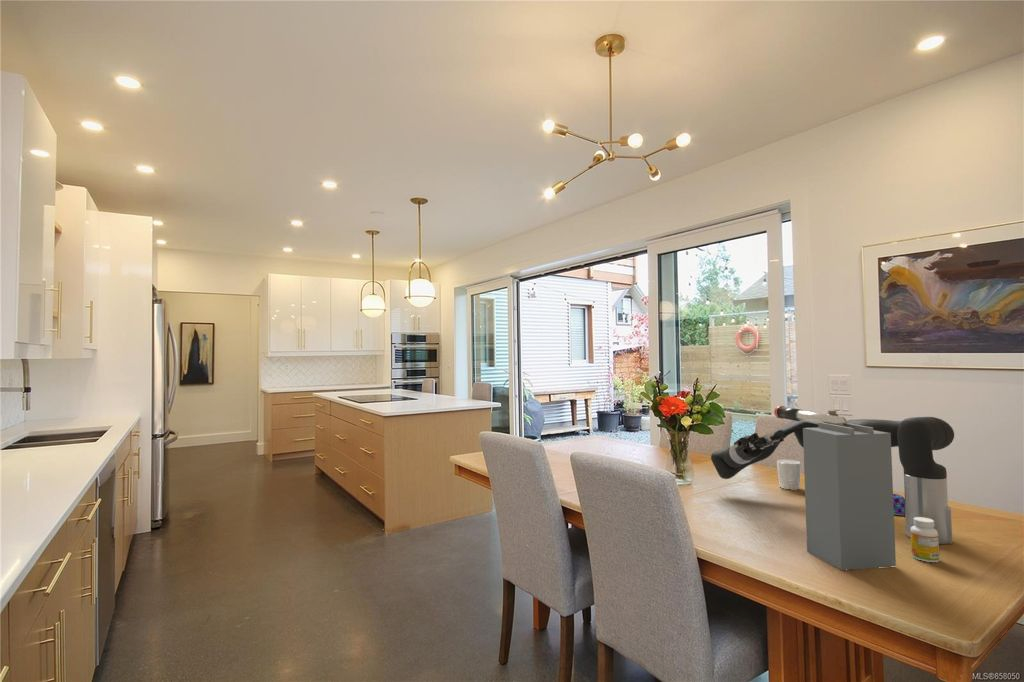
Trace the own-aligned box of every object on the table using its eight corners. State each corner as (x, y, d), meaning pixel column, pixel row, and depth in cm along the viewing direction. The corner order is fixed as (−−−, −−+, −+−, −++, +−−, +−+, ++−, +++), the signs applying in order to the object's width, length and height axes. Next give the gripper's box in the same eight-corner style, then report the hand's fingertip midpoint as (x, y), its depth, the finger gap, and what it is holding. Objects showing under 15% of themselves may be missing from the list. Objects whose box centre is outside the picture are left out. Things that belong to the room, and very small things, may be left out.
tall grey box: (807, 551, 131) (802, 422, 132) (856, 548, 132) (852, 421, 133) (841, 570, 119) (836, 429, 120) (895, 567, 120) (890, 427, 121)
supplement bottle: (911, 552, 129) (910, 514, 129) (939, 557, 125) (937, 518, 126) (911, 559, 125) (909, 520, 125) (939, 565, 121) (938, 524, 121)
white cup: (772, 486, 194) (772, 460, 195) (788, 484, 197) (788, 458, 197) (789, 491, 187) (788, 464, 187) (806, 489, 189) (805, 462, 189)
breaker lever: (774, 418, 152) (774, 405, 152) (786, 418, 153) (785, 405, 153) (835, 430, 127) (834, 415, 127) (848, 430, 128) (848, 415, 128)
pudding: (865, 511, 163) (865, 495, 163) (876, 503, 171) (875, 488, 171) (912, 520, 154) (911, 502, 154) (920, 511, 162) (920, 495, 162)
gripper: (721, 441, 172) (744, 425, 157) (760, 437, 173) (786, 420, 159) (729, 463, 168) (753, 448, 154) (768, 458, 170) (795, 443, 156)
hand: (769, 434), depth 157 cm, fingers open, 8 cm apart
